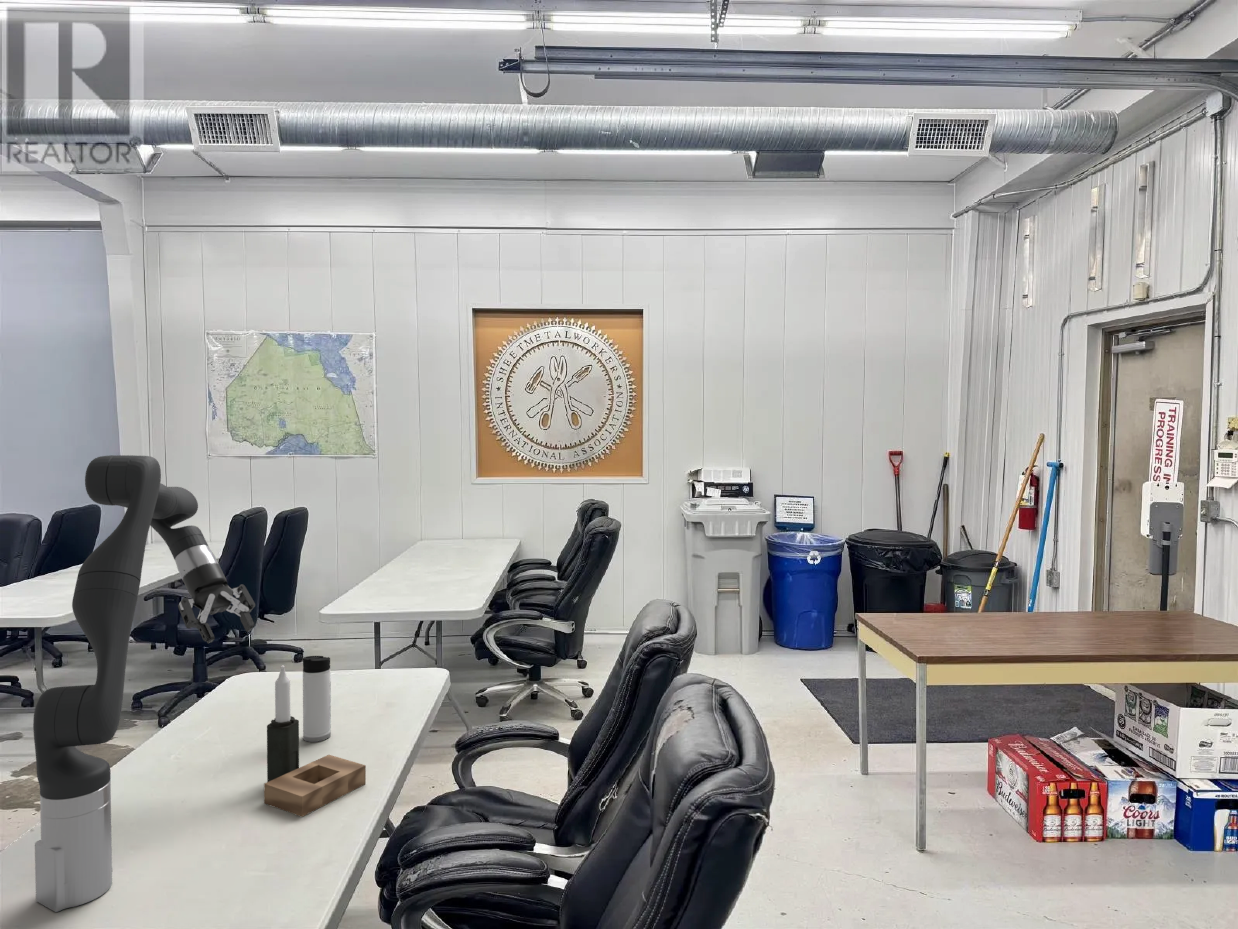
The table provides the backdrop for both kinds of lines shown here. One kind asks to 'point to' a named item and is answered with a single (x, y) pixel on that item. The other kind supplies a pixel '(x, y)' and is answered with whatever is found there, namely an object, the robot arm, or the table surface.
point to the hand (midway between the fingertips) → (231, 635)
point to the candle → (282, 733)
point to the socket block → (314, 785)
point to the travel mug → (316, 698)
